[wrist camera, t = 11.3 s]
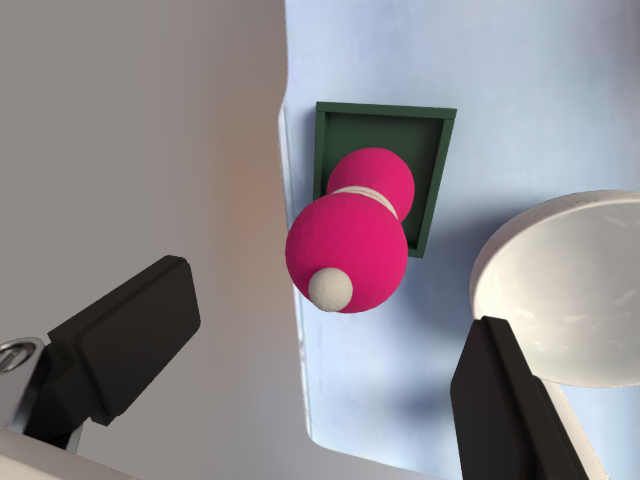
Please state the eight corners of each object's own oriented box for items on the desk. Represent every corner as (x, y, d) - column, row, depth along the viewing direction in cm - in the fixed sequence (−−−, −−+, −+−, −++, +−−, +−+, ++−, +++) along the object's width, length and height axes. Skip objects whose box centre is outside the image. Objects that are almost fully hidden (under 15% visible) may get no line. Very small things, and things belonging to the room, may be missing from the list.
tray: (322, 101, 27) (316, 101, 25) (453, 108, 25) (457, 108, 23) (316, 233, 33) (311, 240, 31) (422, 249, 31) (423, 258, 29)
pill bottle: (475, 365, 35) (518, 523, 22) (556, 361, 32) (661, 540, 19) (486, 412, 37) (531, 578, 24) (562, 411, 34) (659, 601, 21)
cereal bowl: (714, 171, 22) (835, 197, 16) (638, 340, 29) (702, 405, 22) (468, 178, 27) (487, 200, 20) (451, 322, 33) (462, 372, 27)
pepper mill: (333, 148, 28) (214, 219, 11) (411, 135, 26) (423, 200, 8) (343, 218, 31) (263, 367, 13) (415, 212, 29) (431, 382, 11)
